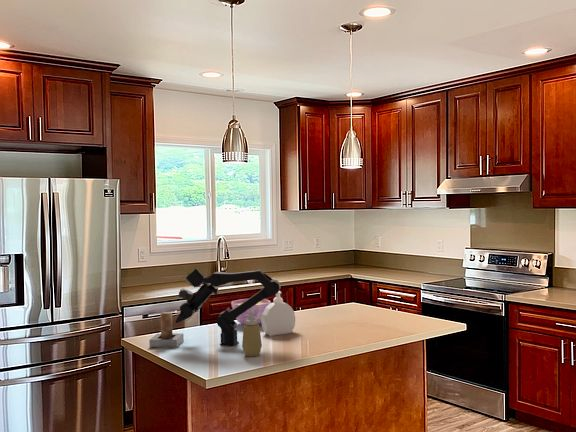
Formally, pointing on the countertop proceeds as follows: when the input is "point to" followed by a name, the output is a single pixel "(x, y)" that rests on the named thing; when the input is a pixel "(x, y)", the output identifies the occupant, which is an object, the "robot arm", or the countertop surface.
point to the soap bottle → (278, 317)
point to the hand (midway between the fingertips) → (178, 320)
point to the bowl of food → (256, 309)
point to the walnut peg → (166, 325)
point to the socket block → (166, 341)
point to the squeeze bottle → (251, 337)
